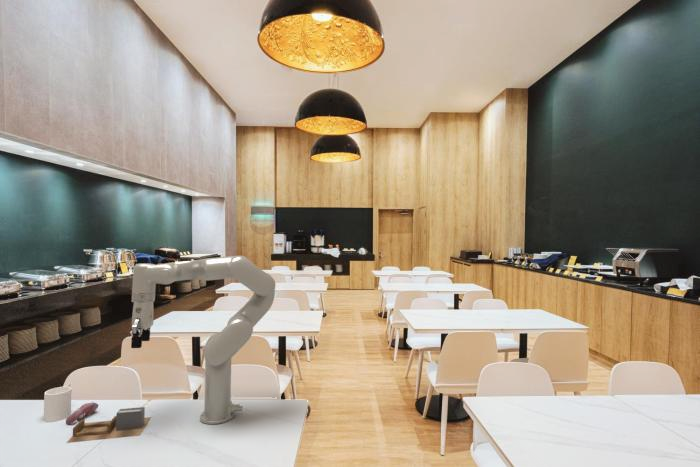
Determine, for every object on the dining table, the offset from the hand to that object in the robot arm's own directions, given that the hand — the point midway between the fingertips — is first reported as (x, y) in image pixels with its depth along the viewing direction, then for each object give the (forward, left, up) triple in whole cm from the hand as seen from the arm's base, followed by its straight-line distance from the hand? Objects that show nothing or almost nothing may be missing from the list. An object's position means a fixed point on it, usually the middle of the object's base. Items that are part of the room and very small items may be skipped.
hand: (140, 344), depth 139 cm
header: (+8, +2, -30) cm, 31 cm away
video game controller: (+22, -11, -30) cm, 39 cm away
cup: (+32, -17, -30) cm, 47 cm away
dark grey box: (+2, +2, -29) cm, 29 cm away
